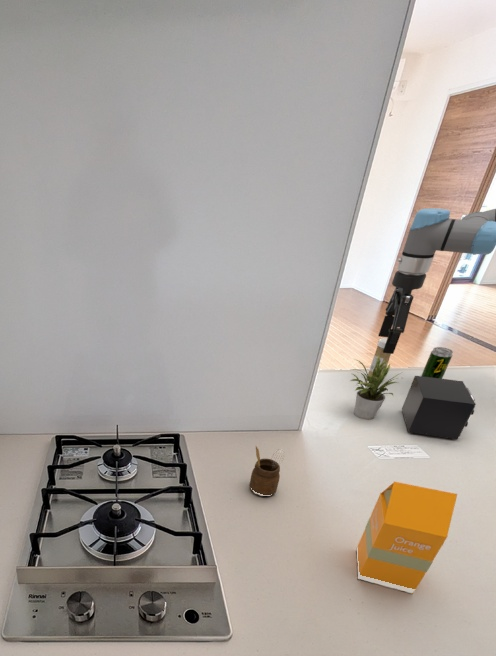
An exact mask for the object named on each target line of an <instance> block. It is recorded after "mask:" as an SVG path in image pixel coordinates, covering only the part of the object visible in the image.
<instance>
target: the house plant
mask: <svg viewBox="0 0 496 656" xmlns="http://www.w3.org/2000/svg"><path fill="white" fill-rule="evenodd" d="M354 360H355V361H357V362H358V363H359V365H360V364H361V366H362V368H363V369H364V371H365V372H364V371H362V370H360V369H356V368H354V369H351V370H352V371H358V373H359V374H361V375H362V377H363V379H364V381H365V382H364V381H363V380H362V379H359V377H358V376H357V375H356V374H354V373H352V376H354V377H355V378H352V379H350V380H349V382H357V385H358V386H357V387H356V388H355V390H354V392H356V391H357V392H356V396H355V405H354V412H353V413H354V415H355V417H358V418H359V419H363V420H372V419H375V417H376V415H377V414H378V413H379V410H380V408H381V407H382V405H383V403H384V402H385V400H386V395H387V394H389V395H392V396H394V393H393V392H388V391H389V389H388V388H387V387H388V386H390V385H392V384H398V382H397V381H394V380H397V379H398V376H399V375H400V374H402V372H401V373H398V374H396V375H394V376H393V377H391V378H390V379H389V380H387V381H385V382H384V380H385V378H386V377H387V375H388V374H389V371H390V367H391V363H389V362H388V363H387V362H386V365H385V366H384V367H383V368H382V366H383V364H384V362H385V361H386V360H385V361H383V362H382V363H381V364H380V358H379V355H378V357H377V362H376V365H375V368H374V370H373V374H372V376H368V373H369V372H368V370H367V368H366V366H365V365H364V363H363V362H361V361H360V360H358V359H356V358H354ZM381 368H382V369H381ZM381 372H382V373H381ZM380 374H381V375H380ZM379 376H380V377H379ZM396 377H397V378H396ZM378 378H379V379H378ZM394 378H395V379H394ZM367 379H368V380H367ZM402 379H404V377H402ZM383 382H384V383H383ZM364 386H365V387H364ZM386 391H387V392H386Z"/></svg>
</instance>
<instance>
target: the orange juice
mask: <svg viewBox="0 0 496 656" xmlns="http://www.w3.org/2000/svg"><path fill="white" fill-rule="evenodd" d="M457 498H458V493H454V492H449V491H443V490H439V489H434V488H430V487H424V486H418V485H413V484H409V483H403V482H398V481H393V482H392V483H391V484H390V485H389V486H388V487H387V488H385V489H384V490H383V491H381V492H380V493H379V495H378V497H377V500H376V503H375V504H374V507H373V509H372V512H371V514H370V516H369V518H368V520H367V523H366V525H365V527H364V529H363V532H362V534H361V537H360V539H359V541H358V543H357V547H358V561H359V572H360V575H362V576H366V577H370V578H374V579H378V580H381V581H385V582H389V583H392V584H396V585H400V586H404V587H407V588H412V589H416V590H417V589H418V587H419V586H420V583H421V582H422V580H423V578H424V576H425V575H426V574H427V572H428V571H429V569H430V567H431V566H432V565H433V562H434V560H435V558H436V556H437V555H438V553H439V552H440V550H441V548H442V546H444V543H445V542H446V540H447V539H448V535H449V530H450V526H451V523H452V518H453V515H454V510H455V507H456V506H455V505H456V501H457ZM357 547H356V548H357Z"/></svg>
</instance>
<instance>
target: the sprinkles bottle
mask: <svg viewBox="0 0 496 656" xmlns="http://www.w3.org/2000/svg"><path fill="white" fill-rule="evenodd" d="M387 338H388V337H382V338H381V337H380V339H378V342H377V346H376V349H375V353H374V355H373V358H372V361H371V365H370V367H369V371H368V372H367V373H368V376H372V374H373V370H374V368H375V365H376V362H377V357H378V355H379V358H380V364H381V363H382V362H383V361H385V360H386V361H385V362H384V364H383V366H382V368H383V367H384V366H385V365H386V362H387V363H388V364H389V361H390V358H391V355H392V354H390V353H383V349H384V347H385V344H386V341H387ZM382 368H381V369H382ZM381 373H382V372H381ZM380 375H381V374H380ZM379 377H380V376H379ZM378 379H379V378H378ZM366 380H367V381H368V379H367V378H366Z"/></svg>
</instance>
